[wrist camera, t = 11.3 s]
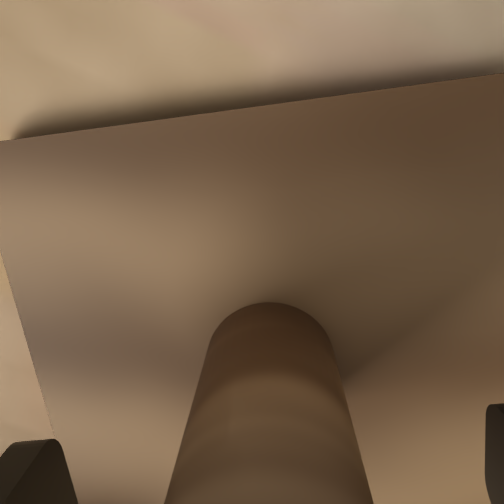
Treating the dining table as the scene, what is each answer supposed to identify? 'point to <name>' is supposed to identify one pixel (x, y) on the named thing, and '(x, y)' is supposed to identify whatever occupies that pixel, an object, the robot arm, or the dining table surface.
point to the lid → (268, 297)
